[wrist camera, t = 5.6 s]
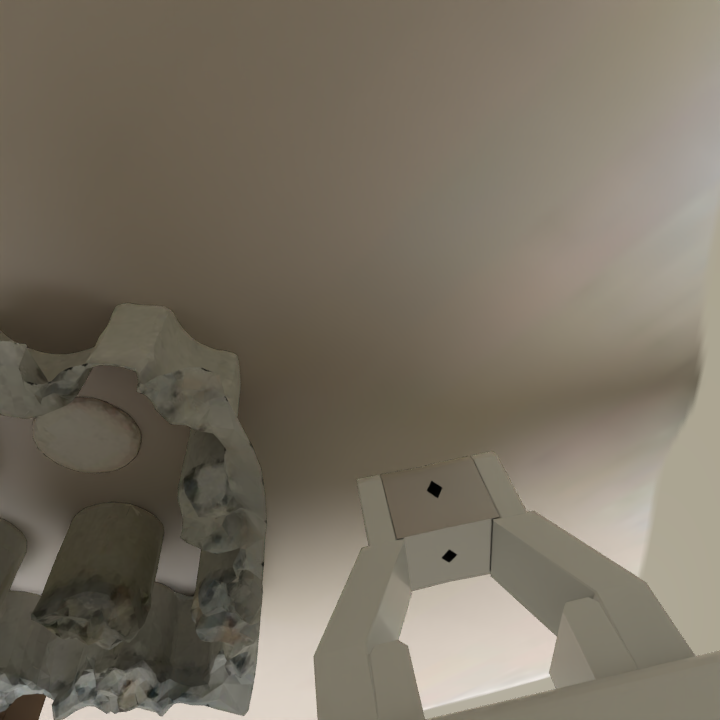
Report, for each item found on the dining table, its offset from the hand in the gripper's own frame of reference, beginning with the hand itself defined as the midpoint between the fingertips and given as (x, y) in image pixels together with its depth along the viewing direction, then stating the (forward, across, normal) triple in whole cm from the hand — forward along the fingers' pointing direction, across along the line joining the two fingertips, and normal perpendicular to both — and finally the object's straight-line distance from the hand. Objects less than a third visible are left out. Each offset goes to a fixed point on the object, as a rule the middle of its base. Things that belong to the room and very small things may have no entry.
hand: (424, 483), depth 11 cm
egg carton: (+2, +7, 0) cm, 8 cm away
